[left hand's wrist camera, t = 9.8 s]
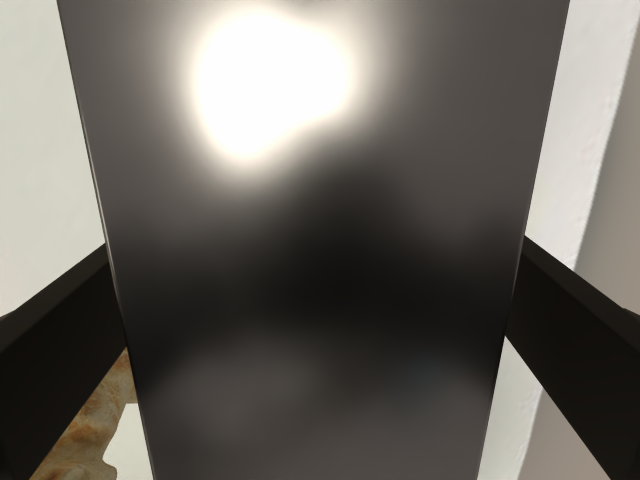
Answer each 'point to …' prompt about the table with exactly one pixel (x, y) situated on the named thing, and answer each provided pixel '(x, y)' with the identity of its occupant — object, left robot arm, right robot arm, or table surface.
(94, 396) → the sculpture
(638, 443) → the left robot arm
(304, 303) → the bar
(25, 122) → the table surface
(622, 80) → the table surface
